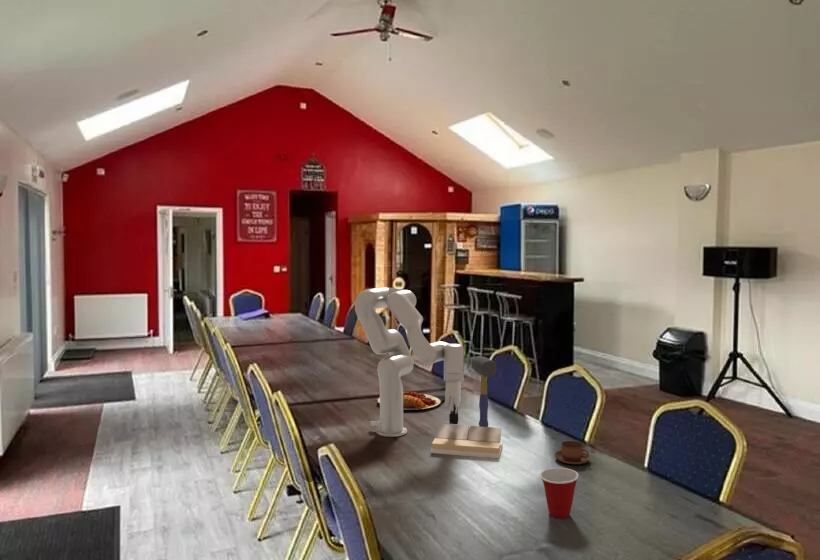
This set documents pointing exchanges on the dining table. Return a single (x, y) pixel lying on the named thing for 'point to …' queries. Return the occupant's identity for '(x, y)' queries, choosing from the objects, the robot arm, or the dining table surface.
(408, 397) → the omelette plate
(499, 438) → the right plank
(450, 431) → the left plank
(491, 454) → the floor board
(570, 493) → the plastic cup
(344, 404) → the dining table surface
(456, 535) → the dining table surface
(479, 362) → the rubber mallet
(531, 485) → the dining table surface
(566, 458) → the cup and saucer
